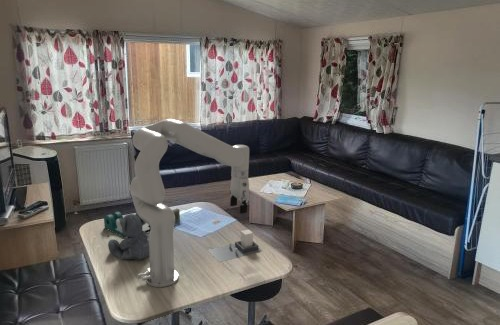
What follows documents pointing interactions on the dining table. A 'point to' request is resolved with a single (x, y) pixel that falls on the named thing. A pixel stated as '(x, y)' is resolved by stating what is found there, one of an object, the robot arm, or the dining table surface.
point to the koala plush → (130, 239)
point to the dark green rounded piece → (113, 222)
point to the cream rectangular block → (246, 238)
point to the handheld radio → (177, 217)
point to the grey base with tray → (233, 251)
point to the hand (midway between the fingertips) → (238, 209)
